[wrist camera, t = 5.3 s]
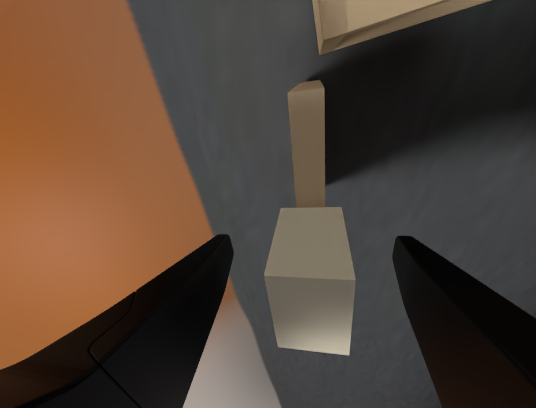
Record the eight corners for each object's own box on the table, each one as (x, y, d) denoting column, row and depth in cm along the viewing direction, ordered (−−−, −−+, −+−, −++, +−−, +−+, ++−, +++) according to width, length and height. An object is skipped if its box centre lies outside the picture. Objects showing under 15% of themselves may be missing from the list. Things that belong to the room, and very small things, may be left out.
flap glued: (330, 78, 11) (371, 99, 3) (329, 191, 15) (349, 355, 6) (291, 83, 12) (232, 116, 3) (298, 192, 15) (278, 346, 7)
